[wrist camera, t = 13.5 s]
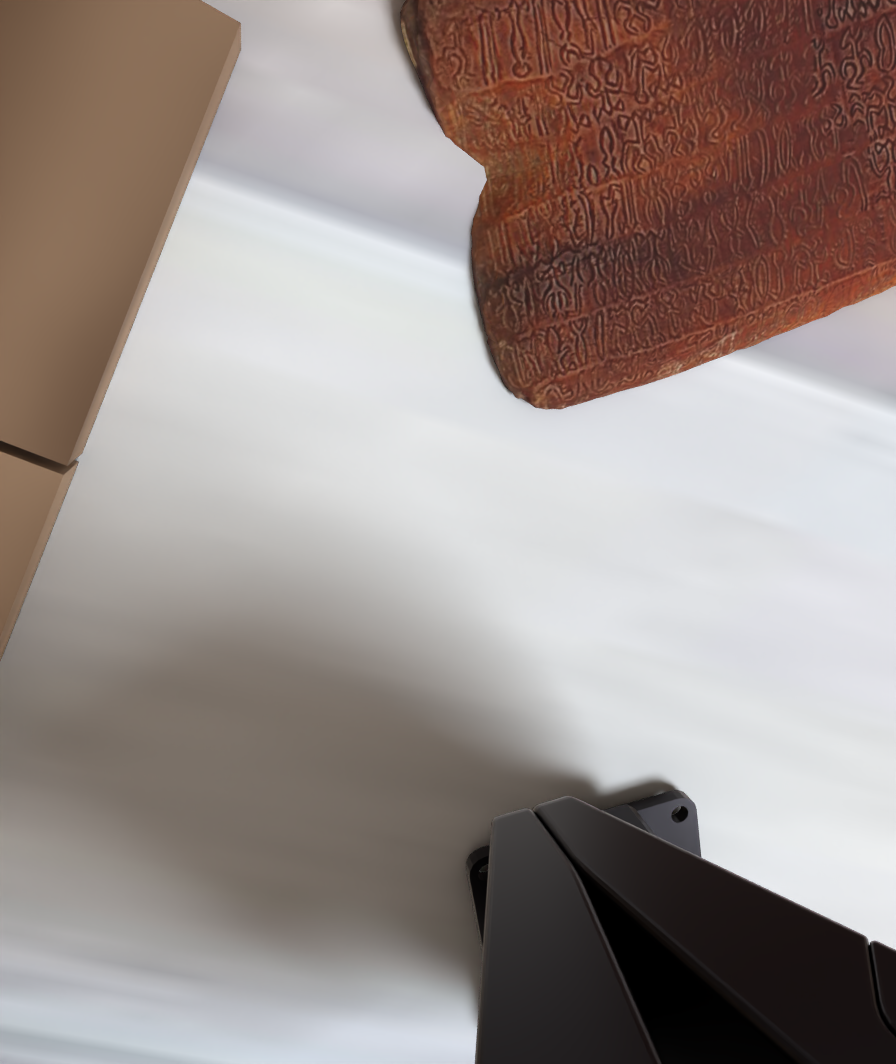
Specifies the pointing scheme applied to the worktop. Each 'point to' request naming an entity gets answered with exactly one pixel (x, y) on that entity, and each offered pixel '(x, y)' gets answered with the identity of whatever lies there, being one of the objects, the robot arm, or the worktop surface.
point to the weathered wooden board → (85, 222)
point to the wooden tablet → (663, 174)
